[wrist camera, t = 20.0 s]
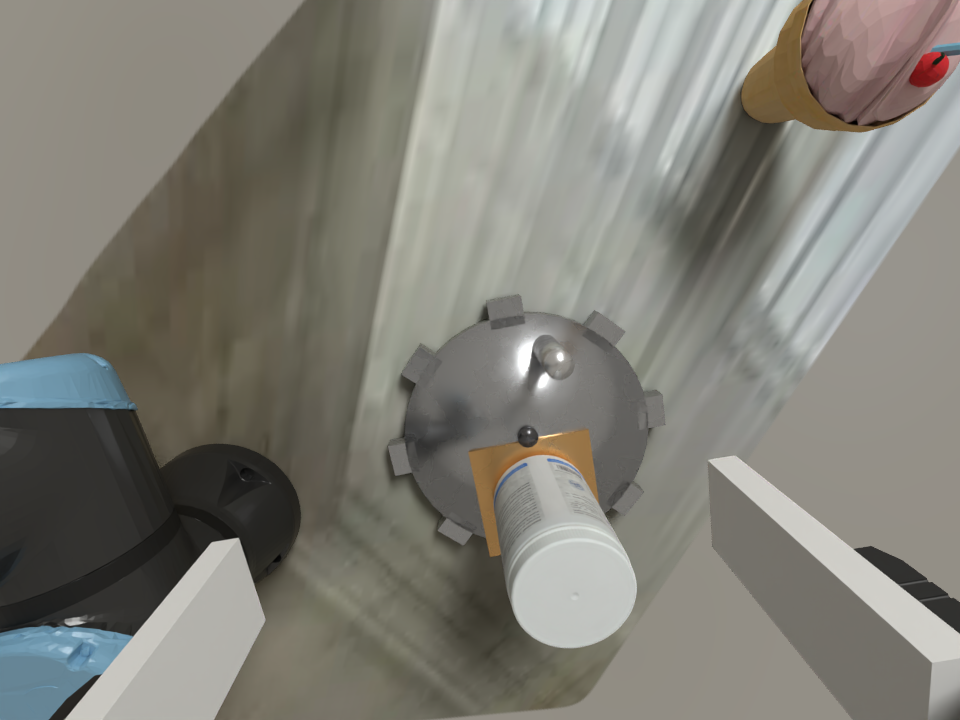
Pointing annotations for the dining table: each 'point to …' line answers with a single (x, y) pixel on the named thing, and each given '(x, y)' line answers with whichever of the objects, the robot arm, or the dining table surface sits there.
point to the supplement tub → (560, 555)
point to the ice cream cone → (855, 63)
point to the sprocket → (522, 413)
